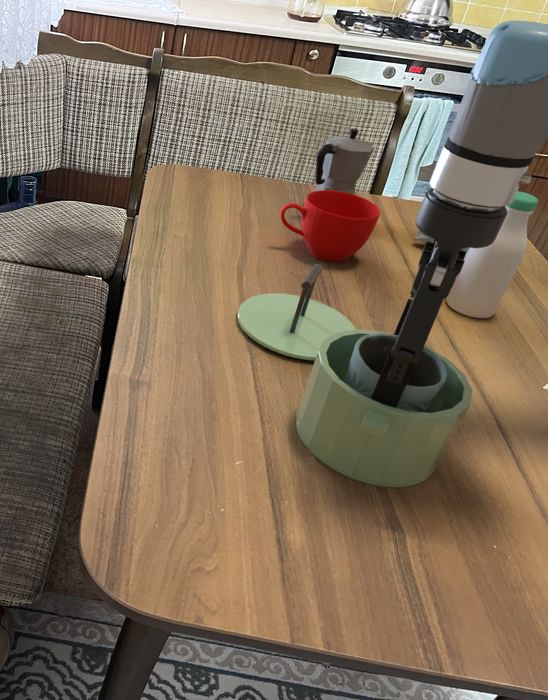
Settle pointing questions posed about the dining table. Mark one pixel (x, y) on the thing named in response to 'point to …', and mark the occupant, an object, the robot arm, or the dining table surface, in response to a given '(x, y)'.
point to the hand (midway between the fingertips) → (392, 374)
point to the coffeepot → (342, 162)
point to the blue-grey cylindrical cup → (370, 365)
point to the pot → (375, 421)
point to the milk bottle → (493, 263)
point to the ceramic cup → (334, 223)
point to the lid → (292, 320)
